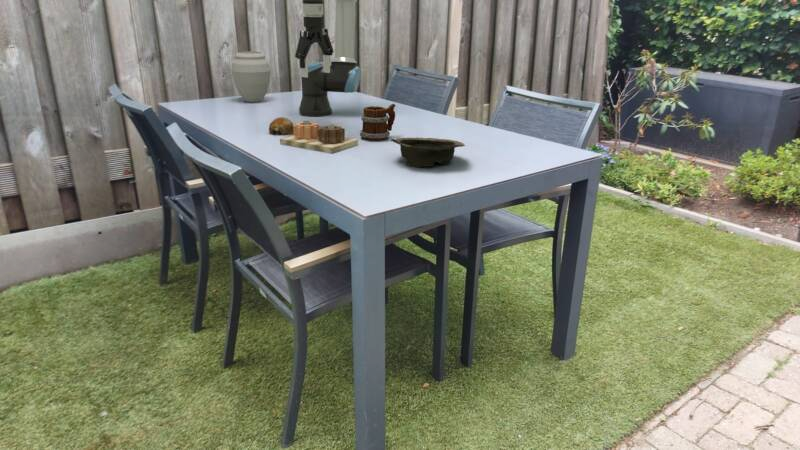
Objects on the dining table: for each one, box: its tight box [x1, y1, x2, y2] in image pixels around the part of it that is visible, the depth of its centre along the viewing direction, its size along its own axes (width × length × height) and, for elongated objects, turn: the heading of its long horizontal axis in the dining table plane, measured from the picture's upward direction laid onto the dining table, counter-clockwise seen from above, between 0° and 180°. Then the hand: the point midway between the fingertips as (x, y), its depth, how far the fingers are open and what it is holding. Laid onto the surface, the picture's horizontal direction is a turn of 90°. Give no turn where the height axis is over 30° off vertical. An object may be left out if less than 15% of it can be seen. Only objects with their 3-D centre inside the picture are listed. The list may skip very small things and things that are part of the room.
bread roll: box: [268, 116, 295, 136], centre depth 226 cm, size 10×10×8 cm
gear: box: [293, 121, 321, 139], centre depth 211 cm, size 10×10×5 cm
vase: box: [230, 50, 272, 103], centre depth 287 cm, size 20×20×24 cm
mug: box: [359, 103, 396, 142], centre depth 220 cm, size 12×14×15 cm
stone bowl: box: [390, 137, 466, 168], centre depth 191 cm, size 25×25×9 cm
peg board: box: [279, 120, 359, 155], centre depth 209 cm, size 24×16×8 cm, turn 60°
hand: (315, 74), depth 217 cm, fingers open, 13 cm apart
